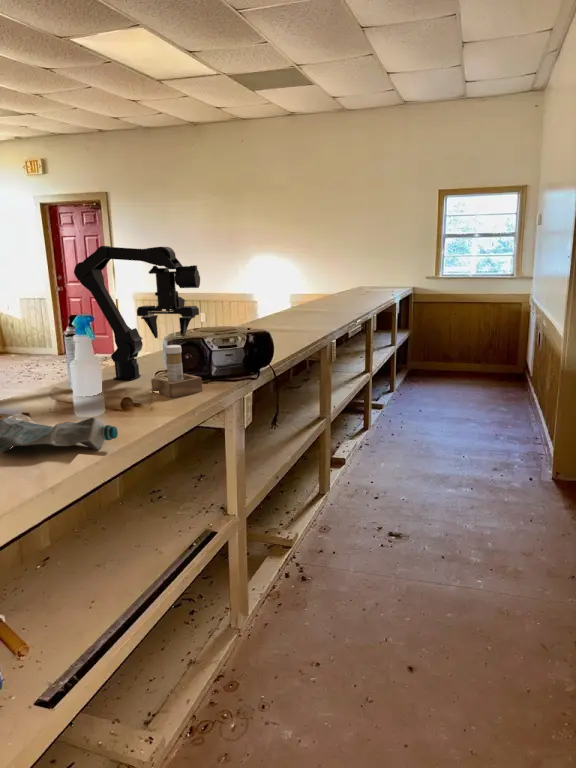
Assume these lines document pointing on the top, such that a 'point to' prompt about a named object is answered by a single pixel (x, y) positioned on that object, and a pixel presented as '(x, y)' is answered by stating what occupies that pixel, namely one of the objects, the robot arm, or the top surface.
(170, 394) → the cradle
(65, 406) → the top surface
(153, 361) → the top surface
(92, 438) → the crushed plastic bottle
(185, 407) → the top surface
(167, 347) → the sprinkles bottle
